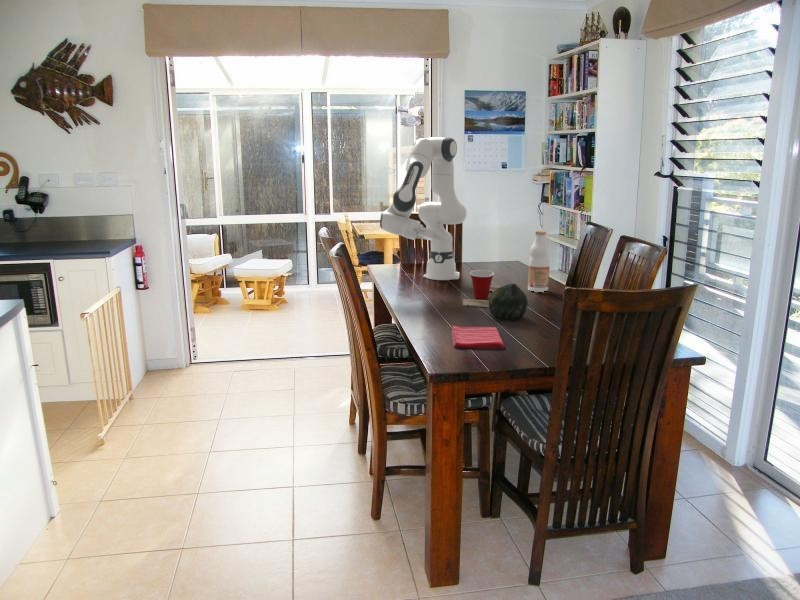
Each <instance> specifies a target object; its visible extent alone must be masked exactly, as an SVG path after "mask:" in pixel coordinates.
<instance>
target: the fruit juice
mask: <svg viewBox="0 0 800 600" xmlns="http://www.w3.org/2000/svg"><path fill="white" fill-rule="evenodd" d="M546 236H547V231H543V230H535V238H534V241H533V243H532V245H531V246H530V247H529V248H530V249H529V254H530V258H529V260H528V261H529V262H528V275H527V276H528V277H527V290H528V291H529V290H530V291H529V292H531V291H534V292H533V293H538V292H542V293H545V292H544V291H547V290H548V291H549V283H550V281H549V279H550V278H549V277H550V258H549V255H550V253H551V250H550V246H549V245H548V243H547V239H546ZM548 291H547V292H548Z"/></svg>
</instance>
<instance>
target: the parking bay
mask: <svg viewBox="0 0 800 600" xmlns="http://www.w3.org/2000/svg"><path fill="white" fill-rule="evenodd" d="M500 287H501V286H496V285H495V286H494V285H491V286H490V291H492V292H491V293H493V292H494V291H495V290H496V289H498V288H500ZM467 305H469V306H470V307H480V308H481V307H482V308H483V307H484V308H489V300H486V299H485V300H478V299H468V298H463V299H462V306H467ZM469 306H468V307H469Z"/></svg>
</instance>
